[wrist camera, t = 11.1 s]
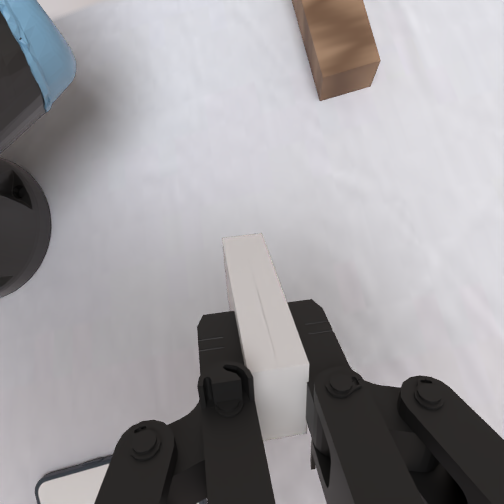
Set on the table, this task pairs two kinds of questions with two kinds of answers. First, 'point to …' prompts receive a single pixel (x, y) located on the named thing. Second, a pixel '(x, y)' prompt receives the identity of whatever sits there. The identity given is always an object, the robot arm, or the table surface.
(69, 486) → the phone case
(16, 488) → the table surface
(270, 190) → the table surface
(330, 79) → the walnut block
